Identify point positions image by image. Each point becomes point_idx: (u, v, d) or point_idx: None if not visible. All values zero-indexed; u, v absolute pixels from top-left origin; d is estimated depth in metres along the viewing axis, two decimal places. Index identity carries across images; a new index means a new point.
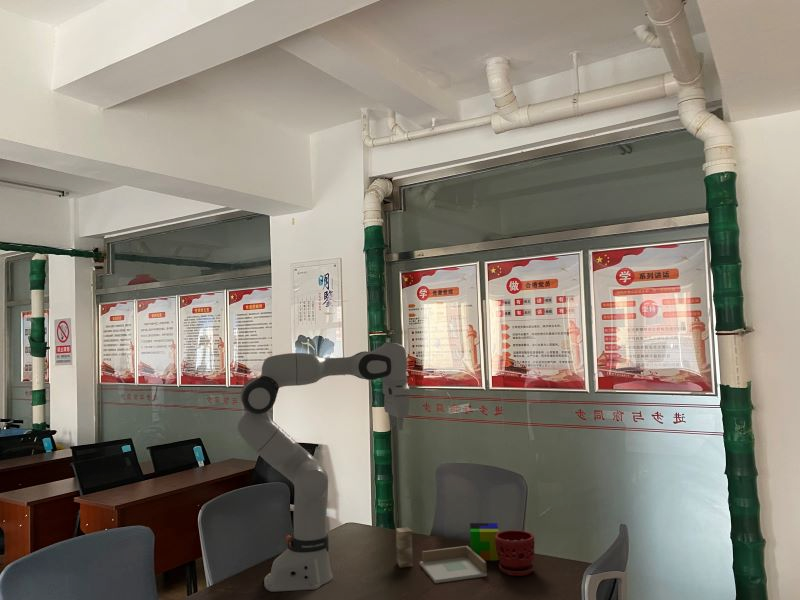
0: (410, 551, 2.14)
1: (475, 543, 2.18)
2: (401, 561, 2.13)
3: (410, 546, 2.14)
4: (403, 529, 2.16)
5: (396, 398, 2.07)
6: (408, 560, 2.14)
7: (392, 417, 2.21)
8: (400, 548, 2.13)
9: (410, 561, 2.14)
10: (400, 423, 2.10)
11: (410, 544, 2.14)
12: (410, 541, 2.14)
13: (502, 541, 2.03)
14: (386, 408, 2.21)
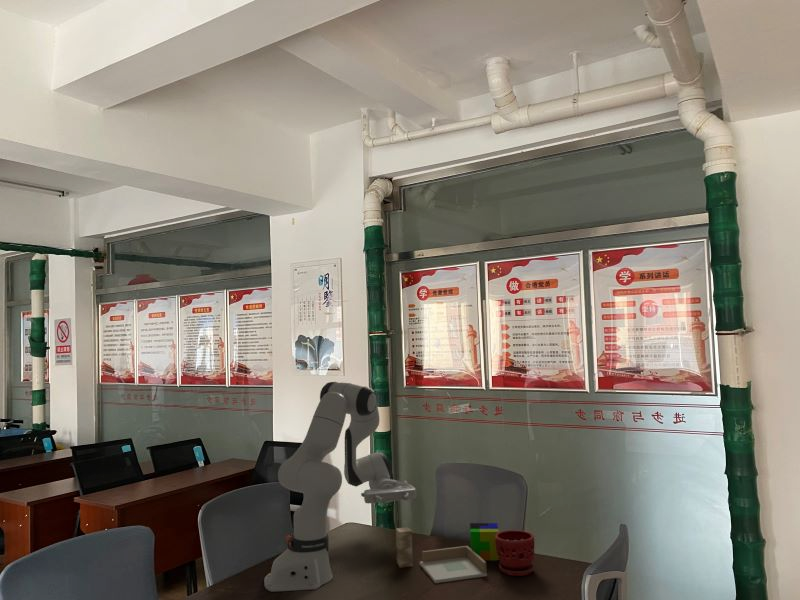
0: (410, 551, 2.14)
1: (475, 543, 2.18)
2: (401, 561, 2.13)
3: (410, 546, 2.14)
4: (403, 529, 2.16)
5: None
6: (408, 560, 2.14)
7: None
8: (400, 548, 2.13)
9: (410, 561, 2.14)
10: None
11: (410, 544, 2.14)
12: (410, 541, 2.14)
13: (502, 541, 2.03)
14: (374, 492, 2.33)
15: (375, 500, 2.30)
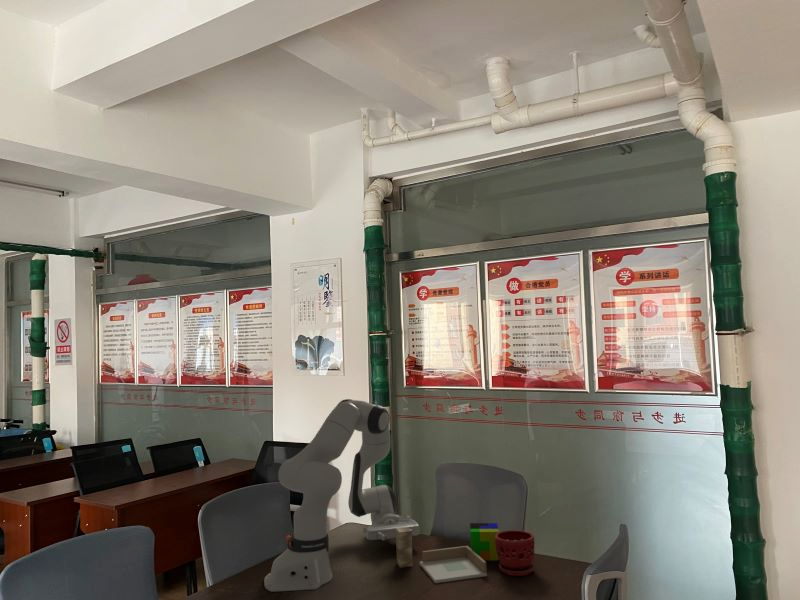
0: (410, 551, 2.14)
1: (475, 543, 2.18)
2: (401, 561, 2.13)
3: (410, 546, 2.14)
4: (403, 529, 2.16)
5: None
6: (408, 560, 2.14)
7: None
8: (400, 548, 2.13)
9: (410, 561, 2.14)
10: None
11: (410, 544, 2.14)
12: (410, 541, 2.14)
13: (502, 541, 2.03)
14: (377, 528, 2.28)
15: (377, 537, 2.26)
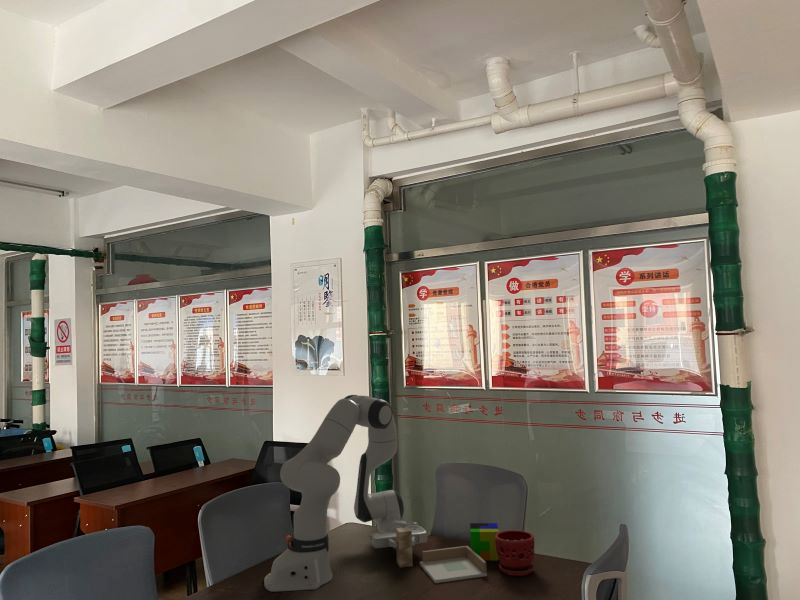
0: (410, 551, 2.14)
1: (475, 543, 2.18)
2: (401, 561, 2.13)
3: (410, 546, 2.14)
4: (403, 529, 2.16)
5: None
6: (408, 560, 2.14)
7: None
8: (400, 548, 2.13)
9: (410, 561, 2.14)
10: None
11: (410, 544, 2.14)
12: (410, 541, 2.14)
13: (502, 541, 2.03)
14: (383, 536, 2.19)
15: (389, 544, 2.17)
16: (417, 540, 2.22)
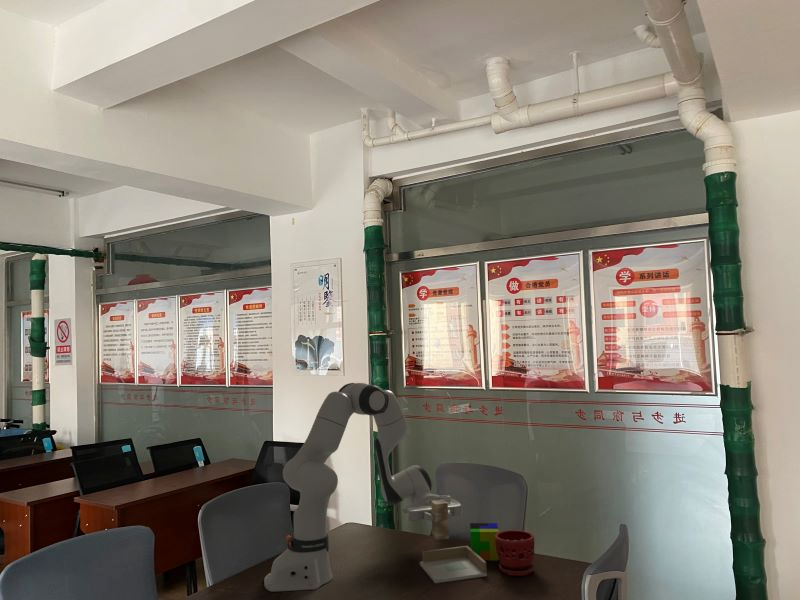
0: (446, 523, 2.11)
1: (475, 543, 2.18)
2: (437, 533, 2.10)
3: (446, 518, 2.11)
4: (439, 501, 2.13)
5: None
6: (445, 533, 2.11)
7: None
8: (436, 520, 2.10)
9: (446, 533, 2.11)
10: None
11: (446, 516, 2.11)
12: (446, 513, 2.11)
13: (502, 541, 2.03)
14: (418, 509, 2.16)
15: (424, 517, 2.14)
16: (452, 513, 2.19)
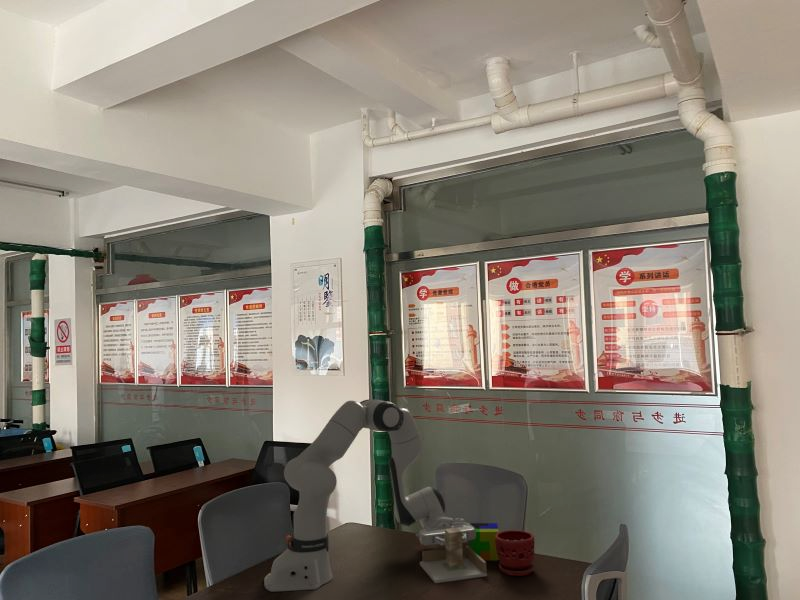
0: (460, 552, 2.08)
1: (475, 543, 2.18)
2: (451, 563, 2.07)
3: (460, 547, 2.08)
4: (452, 530, 2.11)
5: None
6: (459, 562, 2.08)
7: None
8: (450, 549, 2.08)
9: (460, 563, 2.08)
10: None
11: (460, 545, 2.08)
12: (460, 542, 2.09)
13: (502, 541, 2.03)
14: (431, 532, 2.14)
15: (435, 541, 2.12)
16: None
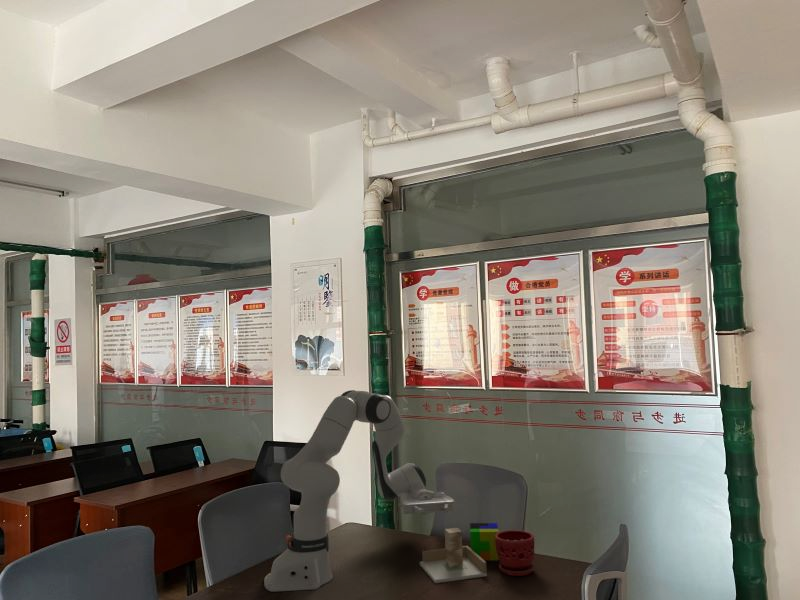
0: (460, 552, 2.08)
1: (475, 543, 2.18)
2: (451, 563, 2.07)
3: (460, 547, 2.08)
4: (452, 530, 2.11)
5: None
6: (459, 562, 2.08)
7: None
8: (450, 549, 2.08)
9: (460, 563, 2.08)
10: None
11: (460, 545, 2.08)
12: (460, 542, 2.09)
13: (502, 541, 2.03)
14: (413, 502, 2.27)
15: (414, 511, 2.24)
16: None
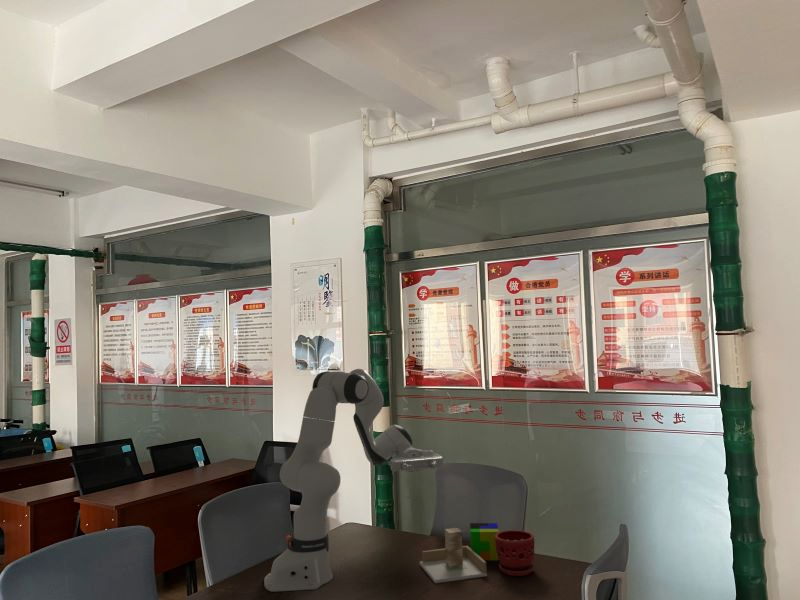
0: (460, 552, 2.08)
1: (475, 543, 2.18)
2: (451, 563, 2.07)
3: (460, 547, 2.08)
4: (452, 530, 2.11)
5: None
6: (459, 562, 2.08)
7: None
8: (450, 549, 2.08)
9: (460, 563, 2.08)
10: None
11: (460, 545, 2.08)
12: (460, 542, 2.09)
13: (502, 541, 2.03)
14: (401, 460, 2.29)
15: (402, 468, 2.26)
16: None
